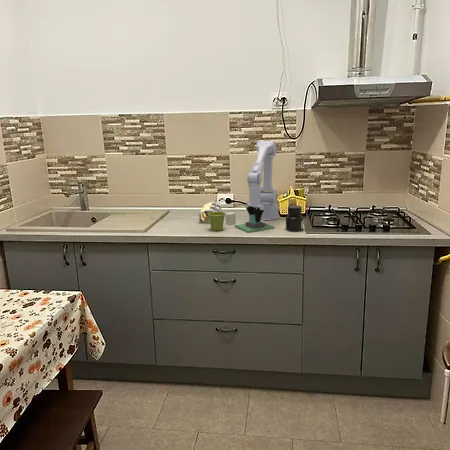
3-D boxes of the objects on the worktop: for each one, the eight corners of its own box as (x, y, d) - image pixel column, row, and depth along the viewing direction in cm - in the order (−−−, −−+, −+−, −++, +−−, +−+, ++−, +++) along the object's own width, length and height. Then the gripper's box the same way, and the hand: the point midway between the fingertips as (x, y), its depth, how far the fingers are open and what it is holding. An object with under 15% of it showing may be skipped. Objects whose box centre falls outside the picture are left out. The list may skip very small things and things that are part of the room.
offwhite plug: (230, 222, 239) (230, 212, 238) (235, 223, 236) (235, 213, 235) (224, 224, 236) (224, 213, 235) (229, 225, 233) (229, 214, 232)
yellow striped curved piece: (217, 224, 237) (217, 201, 234) (199, 224, 238) (198, 201, 235) (221, 214, 262) (220, 193, 258) (204, 214, 262) (204, 193, 259)
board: (259, 223, 236) (259, 217, 235) (274, 228, 224) (274, 222, 223) (234, 227, 228) (234, 221, 228) (248, 232, 216) (248, 227, 216)
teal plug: (255, 224, 227) (255, 214, 226) (260, 226, 224) (259, 215, 223) (248, 226, 225) (248, 215, 224) (252, 227, 222) (252, 216, 220)
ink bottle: (306, 231, 217) (307, 207, 214) (290, 232, 214) (290, 209, 211) (298, 226, 226) (298, 204, 223) (282, 228, 223) (282, 205, 220)
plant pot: (229, 229, 224) (229, 213, 222) (216, 232, 218) (215, 216, 216) (218, 226, 231) (217, 210, 229) (204, 229, 225) (203, 213, 223)
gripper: (241, 194, 225) (241, 219, 229) (255, 198, 213) (256, 224, 216) (252, 193, 229) (252, 217, 232) (267, 196, 216) (267, 223, 219)
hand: (255, 221), depth 224 cm, fingers open, 5 cm apart
